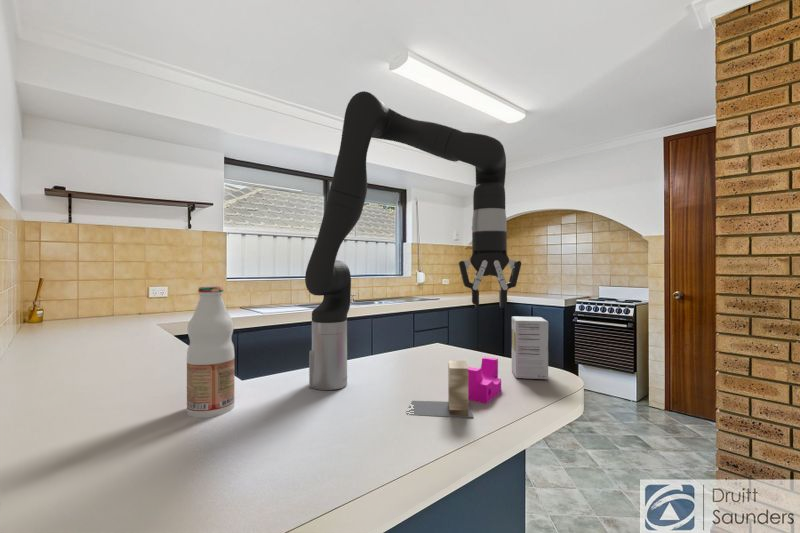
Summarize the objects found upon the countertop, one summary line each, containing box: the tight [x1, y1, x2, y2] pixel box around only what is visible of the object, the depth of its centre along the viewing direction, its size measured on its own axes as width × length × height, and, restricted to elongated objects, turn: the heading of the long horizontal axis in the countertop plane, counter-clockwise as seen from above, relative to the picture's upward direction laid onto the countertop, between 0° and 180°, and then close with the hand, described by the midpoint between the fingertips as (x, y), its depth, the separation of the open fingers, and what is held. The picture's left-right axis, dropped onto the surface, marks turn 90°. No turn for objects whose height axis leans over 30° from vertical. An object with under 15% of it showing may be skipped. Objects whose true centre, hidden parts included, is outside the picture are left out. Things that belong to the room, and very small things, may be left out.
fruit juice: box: [186, 286, 236, 418], centre depth 85 cm, size 9×9×28 cm
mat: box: [405, 400, 475, 419], centre depth 88 cm, size 16×9×1 cm, turn 85°
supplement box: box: [511, 315, 549, 380], centre depth 116 cm, size 10×9×17 cm
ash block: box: [447, 360, 469, 415], centre depth 88 cm, size 4×7×10 cm, turn 175°
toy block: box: [468, 356, 502, 404], centre depth 100 cm, size 15×6×8 cm, turn 147°
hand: (489, 306), depth 87 cm, fingers open, 5 cm apart
